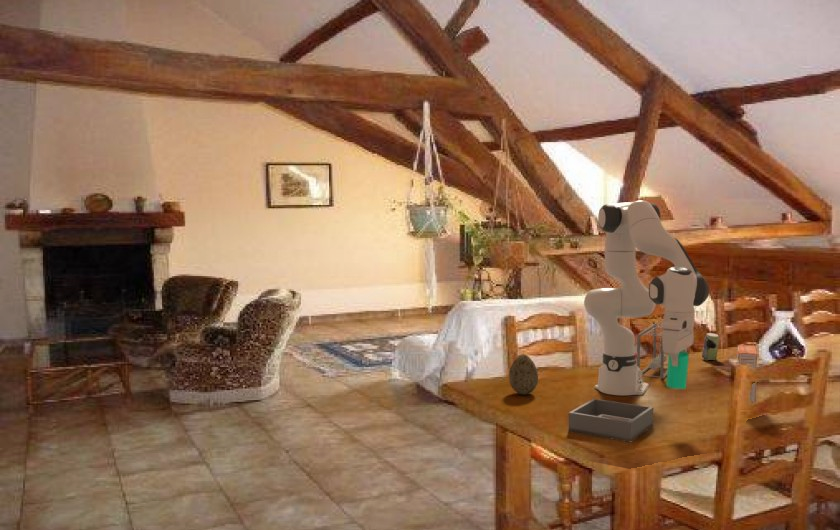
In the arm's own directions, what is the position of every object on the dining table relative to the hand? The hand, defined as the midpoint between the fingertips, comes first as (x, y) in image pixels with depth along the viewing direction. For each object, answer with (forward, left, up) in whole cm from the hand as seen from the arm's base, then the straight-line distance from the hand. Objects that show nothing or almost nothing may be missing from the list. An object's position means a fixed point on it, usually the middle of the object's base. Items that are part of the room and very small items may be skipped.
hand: (678, 364), depth 240 cm
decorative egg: (-13, -61, -21) cm, 66 cm away
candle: (0, -1, -7) cm, 7 cm away
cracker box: (-36, +12, -21) cm, 44 cm away
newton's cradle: (-77, -31, -21) cm, 86 cm away
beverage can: (-110, -19, -21) cm, 114 cm away
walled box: (+10, -18, -21) cm, 29 cm away
